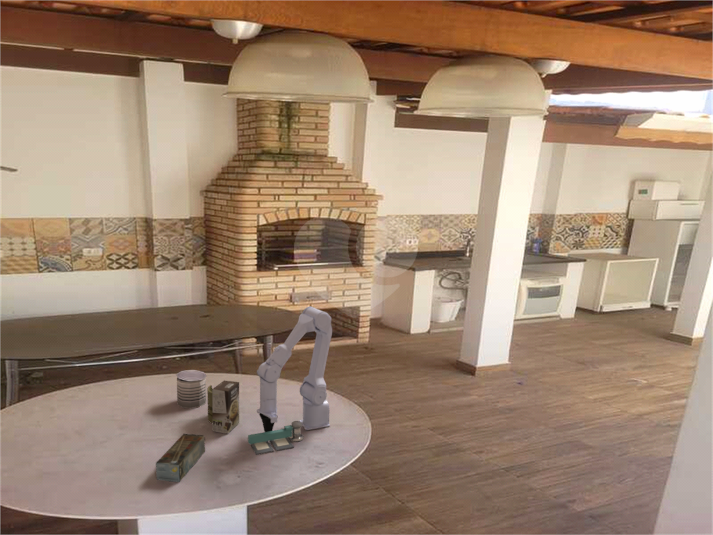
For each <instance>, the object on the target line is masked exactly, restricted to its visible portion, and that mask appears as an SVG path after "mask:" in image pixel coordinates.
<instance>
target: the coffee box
mask: <svg viewBox="0 0 713 535" xmlns="http://www.w3.org/2000/svg"><path fill="white" fill-rule="evenodd" d="M212 407H213V408H212V412H213V424H212V432H215V433H216V432H217V433H221V434H222V433H223V434H226V433H227V434H229V433H230V432H231V431H232V430H234V429H235V428H236V427H237V426H238V425H239V424H240V382H239V381H231V380H225V379H224V380H223V381H221V382H220V383H219V384H217V385H216V386H214V387H212ZM227 434H226V435H227Z"/></svg>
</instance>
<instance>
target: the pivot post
mask: <svg viewBox="0 0 713 535" xmlns="http://www.w3.org/2000/svg"><path fill="white" fill-rule="evenodd" d="M301 428H302V427H300V428H293V430H292V437H288V439H289V440H290V442H295V443H298V442H302V441H303V440H305V439H304V438H305V436H304V435H303V434H301Z"/></svg>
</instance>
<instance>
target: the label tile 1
mask: <svg viewBox="0 0 713 535" xmlns="http://www.w3.org/2000/svg"><path fill="white" fill-rule="evenodd" d="M249 445H250V446H251V448H252V450H253V452H254V454H255V455H256V456H260V455H264V453H265V454H269V453H274V452H275V450H274V448H273V447H272V446H273V445H271V443H270V441H265V442H259V443H254V444H249ZM259 454H260V455H259Z"/></svg>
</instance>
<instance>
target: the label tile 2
mask: <svg viewBox="0 0 713 535" xmlns="http://www.w3.org/2000/svg"><path fill="white" fill-rule="evenodd" d="M269 442H271V443H270V444H272V446H273V447H274V448H273V449H275V450H276V452H281V451H284V450H285V449H286V450H291V449H294V448H295V446H294V444H293V443H292V441H291V440H290V439H289V437H287V438H281V439H276V440H270V441H269Z"/></svg>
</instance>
